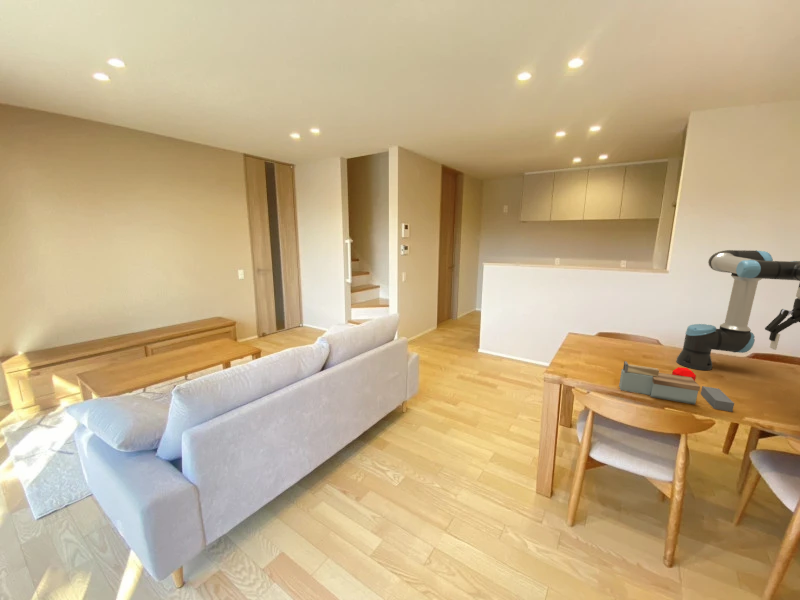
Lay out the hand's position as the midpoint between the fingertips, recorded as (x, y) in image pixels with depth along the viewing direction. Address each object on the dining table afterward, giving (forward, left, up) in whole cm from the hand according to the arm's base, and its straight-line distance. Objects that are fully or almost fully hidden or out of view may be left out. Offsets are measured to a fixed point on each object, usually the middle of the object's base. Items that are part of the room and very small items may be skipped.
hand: (796, 351), depth 131 cm
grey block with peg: (+1, -51, -28) cm, 58 cm away
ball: (-18, -27, -28) cm, 43 cm away
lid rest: (-1, -20, -28) cm, 34 cm away
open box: (+1, -37, -28) cm, 46 cm away
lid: (+1, -37, -21) cm, 42 cm away
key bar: (+1, -49, -19) cm, 53 cm away
